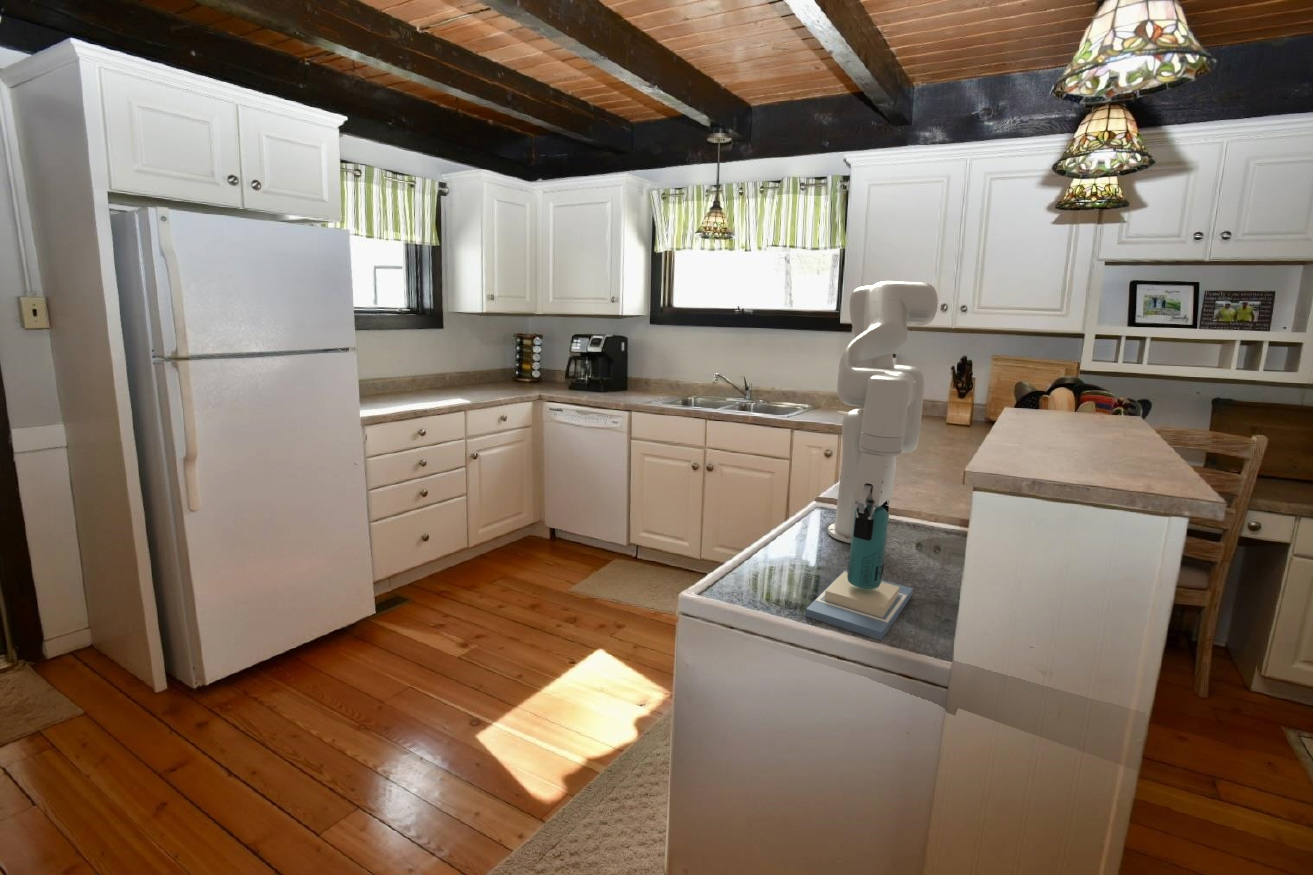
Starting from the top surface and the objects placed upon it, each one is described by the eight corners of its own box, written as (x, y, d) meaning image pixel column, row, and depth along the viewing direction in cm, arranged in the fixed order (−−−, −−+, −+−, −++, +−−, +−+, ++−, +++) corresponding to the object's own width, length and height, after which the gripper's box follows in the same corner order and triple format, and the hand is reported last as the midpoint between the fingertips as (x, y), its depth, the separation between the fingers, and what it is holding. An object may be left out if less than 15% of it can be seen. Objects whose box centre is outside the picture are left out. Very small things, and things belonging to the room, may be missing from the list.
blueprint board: (844, 576, 147) (846, 560, 146) (912, 595, 139) (914, 579, 139) (805, 616, 129) (807, 598, 128) (881, 640, 121) (883, 621, 121)
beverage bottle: (875, 600, 129) (888, 497, 124) (840, 590, 132) (852, 490, 127) (884, 587, 134) (897, 489, 129) (850, 578, 137) (861, 482, 133)
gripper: (874, 431, 135) (864, 514, 139) (845, 448, 121) (835, 539, 125) (914, 438, 132) (902, 523, 136) (889, 455, 117) (876, 550, 121)
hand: (870, 530), depth 130 cm, fingers open, 9 cm apart
